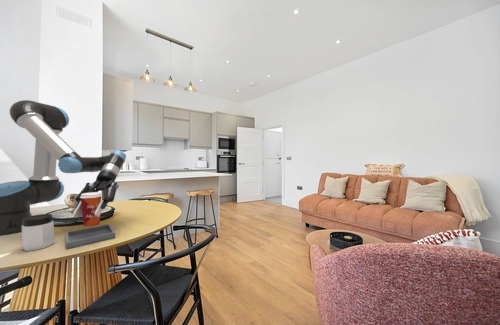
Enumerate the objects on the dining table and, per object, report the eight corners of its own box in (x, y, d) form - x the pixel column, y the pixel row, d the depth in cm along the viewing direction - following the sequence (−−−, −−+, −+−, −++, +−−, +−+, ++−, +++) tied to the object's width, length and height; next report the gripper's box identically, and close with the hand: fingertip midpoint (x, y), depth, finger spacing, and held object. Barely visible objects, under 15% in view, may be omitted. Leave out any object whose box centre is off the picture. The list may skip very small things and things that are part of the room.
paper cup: (89, 228, 82) (89, 195, 81) (75, 226, 83) (74, 194, 83) (107, 222, 89) (106, 192, 89) (93, 221, 91) (93, 191, 91)
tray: (66, 249, 75) (66, 243, 75) (65, 237, 86) (65, 232, 86) (115, 237, 87) (115, 232, 87) (109, 228, 97) (109, 223, 97)
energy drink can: (83, 219, 111) (83, 193, 111) (91, 220, 110) (90, 194, 109) (71, 222, 106) (70, 195, 105) (79, 223, 104) (78, 196, 104)
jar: (37, 251, 74) (37, 220, 73) (15, 251, 73) (14, 220, 73) (59, 241, 83) (59, 213, 82) (39, 241, 82) (38, 213, 82)
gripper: (132, 179, 102) (115, 218, 87) (89, 179, 100) (64, 220, 84) (127, 169, 97) (108, 210, 81) (82, 169, 94) (53, 211, 79)
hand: (86, 215), depth 83 cm, fingers closed on paper cup, 8 cm apart
